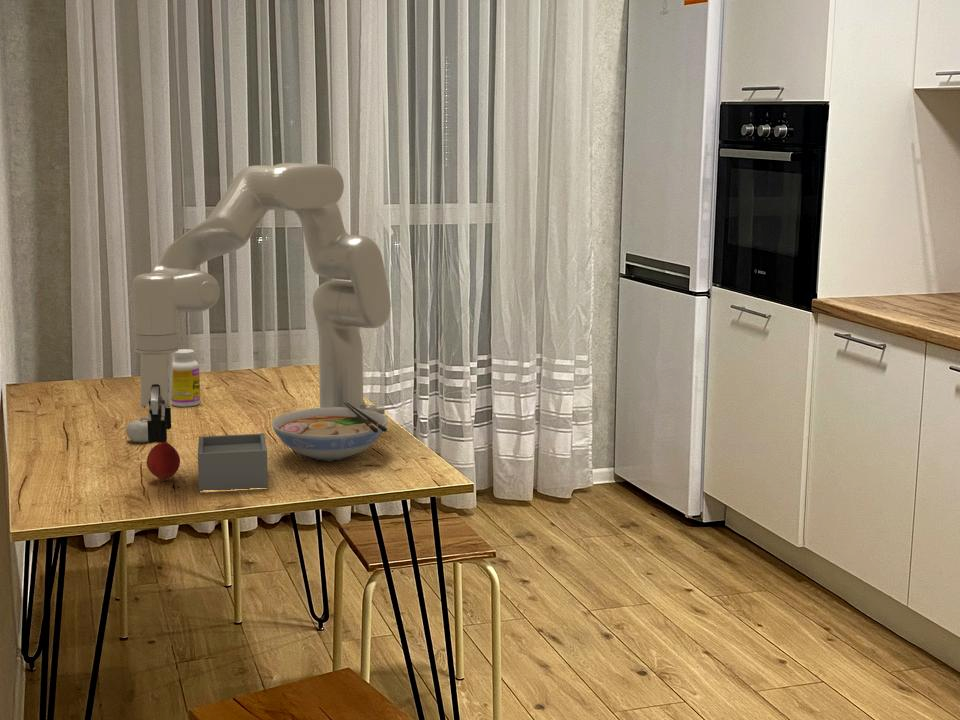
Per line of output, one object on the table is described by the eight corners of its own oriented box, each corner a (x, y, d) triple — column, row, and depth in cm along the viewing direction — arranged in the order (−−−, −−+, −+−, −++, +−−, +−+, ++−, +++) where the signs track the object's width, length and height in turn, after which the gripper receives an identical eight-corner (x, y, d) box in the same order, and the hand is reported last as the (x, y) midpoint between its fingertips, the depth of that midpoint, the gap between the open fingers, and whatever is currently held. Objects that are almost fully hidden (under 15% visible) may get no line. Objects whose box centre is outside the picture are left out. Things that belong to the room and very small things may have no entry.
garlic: (161, 439, 235) (160, 415, 234) (147, 445, 230) (145, 421, 229) (135, 437, 237) (134, 412, 236) (121, 443, 231) (119, 419, 230)
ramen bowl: (261, 445, 230) (260, 406, 229) (370, 436, 238) (369, 398, 237) (285, 480, 207) (284, 437, 206) (404, 468, 215) (403, 426, 214)
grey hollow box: (265, 471, 214) (264, 433, 212) (268, 490, 202) (266, 450, 201) (200, 475, 211) (199, 436, 209) (199, 494, 199) (197, 454, 198)
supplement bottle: (196, 407, 262) (193, 353, 259) (168, 407, 262) (165, 353, 260) (203, 401, 268) (201, 348, 266) (176, 400, 269) (173, 348, 266)
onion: (168, 474, 211) (166, 432, 209) (187, 480, 207) (185, 438, 205) (141, 481, 206) (139, 439, 205) (160, 487, 203) (158, 444, 201)
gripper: (140, 335, 209) (143, 425, 212) (129, 351, 192) (133, 448, 195) (181, 334, 210) (184, 423, 213) (174, 350, 194) (177, 446, 197)
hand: (160, 435), depth 204 cm, fingers open, 9 cm apart
